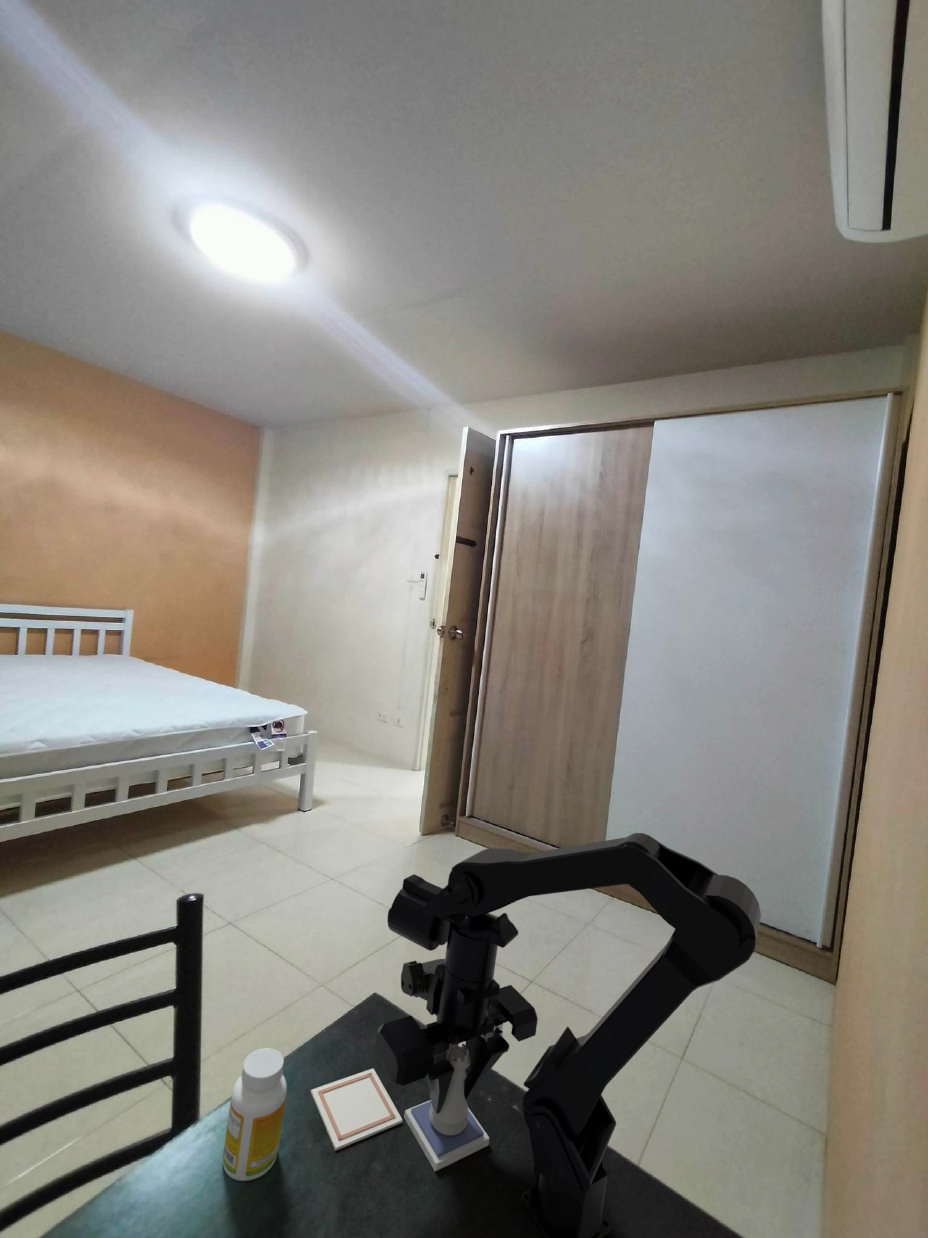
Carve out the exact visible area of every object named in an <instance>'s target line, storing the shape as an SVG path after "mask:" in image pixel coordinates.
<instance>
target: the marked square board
mask: <svg viewBox="0 0 928 1238" xmlns="http://www.w3.org/2000/svg"><path fill="white" fill-rule="evenodd" d="M310 1094H311V1096H312V1100H313V1101H314V1104H315V1106H316V1108H317V1109H316V1110H318V1113H319V1115H320V1118H321V1120H322V1123H323V1125H324V1128H325V1130H326V1132H327V1134H328V1137H329V1140H330V1142H331V1144H332V1146H333V1147H332V1148H333V1149H334V1152H335V1151H337V1150H341V1149H343V1148H346V1147H347V1146H350V1145H352V1144H354V1143H357V1142H359V1141H362V1140H364V1139H367V1138H369V1137H371V1136H374V1135H376V1134H378V1133H381V1132H383V1131H385V1130H388V1129H390V1128H393V1127H395V1126H397V1125H400V1124H402V1123H403V1119H402V1117H401V1115H400V1112H399V1111H398V1109H397V1108H396V1105H395V1104H394V1102H393V1100H392V1099H391V1097H390V1095H389V1093H388V1092H387V1090H386V1088H385V1086H384V1085H383V1083H382V1081H381V1079H380V1077H379V1075H378V1074H377V1072H376V1070H375V1069H374V1068H370V1069H367V1070H364V1071H362V1072H359V1073H356V1074H355V1073H354V1074H353V1075H350V1076H347V1077H344V1078H341V1079H337V1080H336V1081H332V1082H329V1083H326V1084H324V1085H321V1086H319V1087H315V1088H313V1089H311V1090H310Z"/></svg>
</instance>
